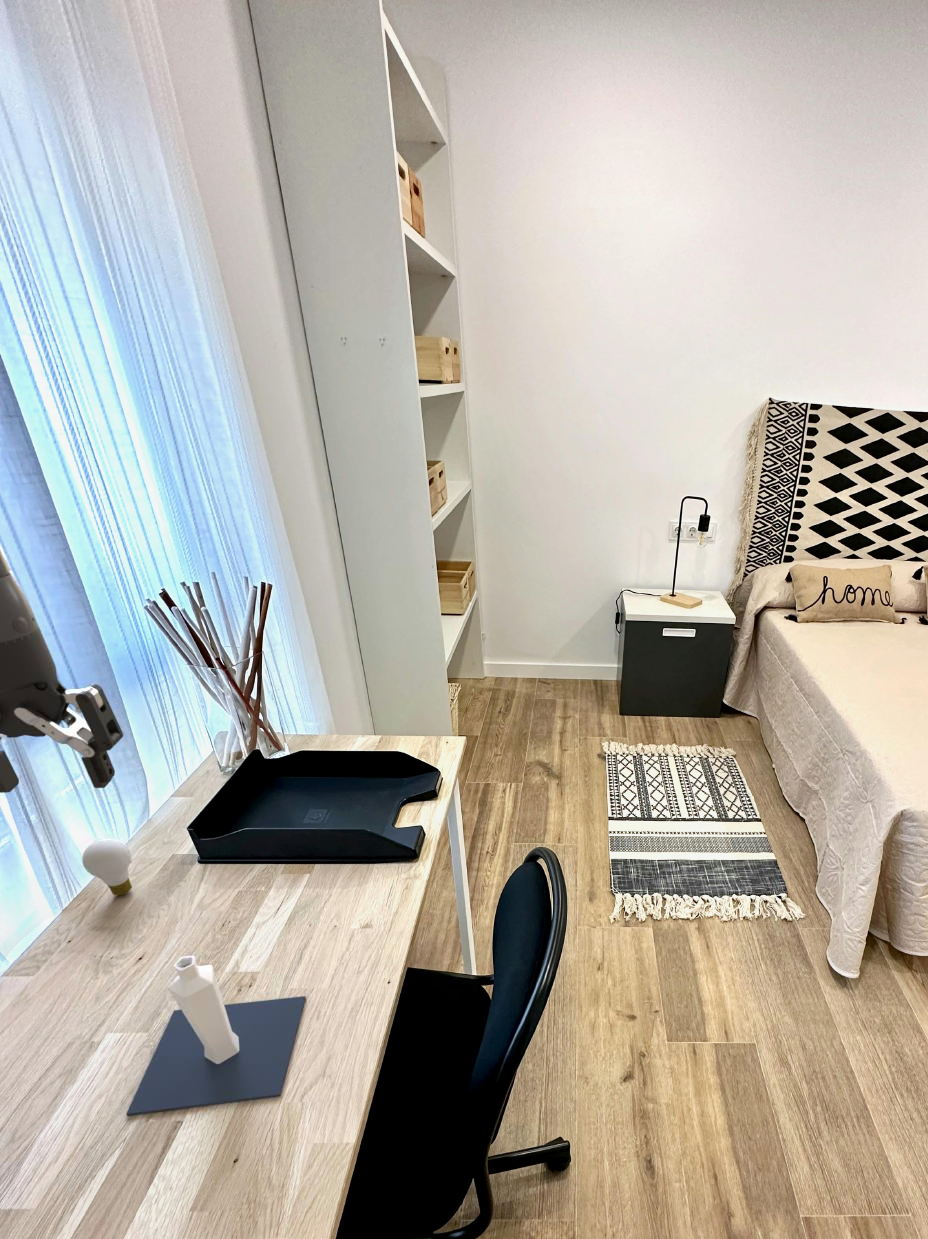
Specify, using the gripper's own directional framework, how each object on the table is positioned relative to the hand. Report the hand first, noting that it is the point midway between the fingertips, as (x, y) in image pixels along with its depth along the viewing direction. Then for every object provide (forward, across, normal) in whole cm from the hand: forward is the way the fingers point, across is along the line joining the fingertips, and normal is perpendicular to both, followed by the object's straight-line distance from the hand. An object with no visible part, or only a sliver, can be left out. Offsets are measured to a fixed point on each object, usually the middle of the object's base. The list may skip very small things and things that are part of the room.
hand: (57, 786), depth 65 cm
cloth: (+34, -10, +7) cm, 36 cm away
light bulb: (+35, +15, -24) cm, 45 cm away
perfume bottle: (+34, -9, +7) cm, 36 cm away
